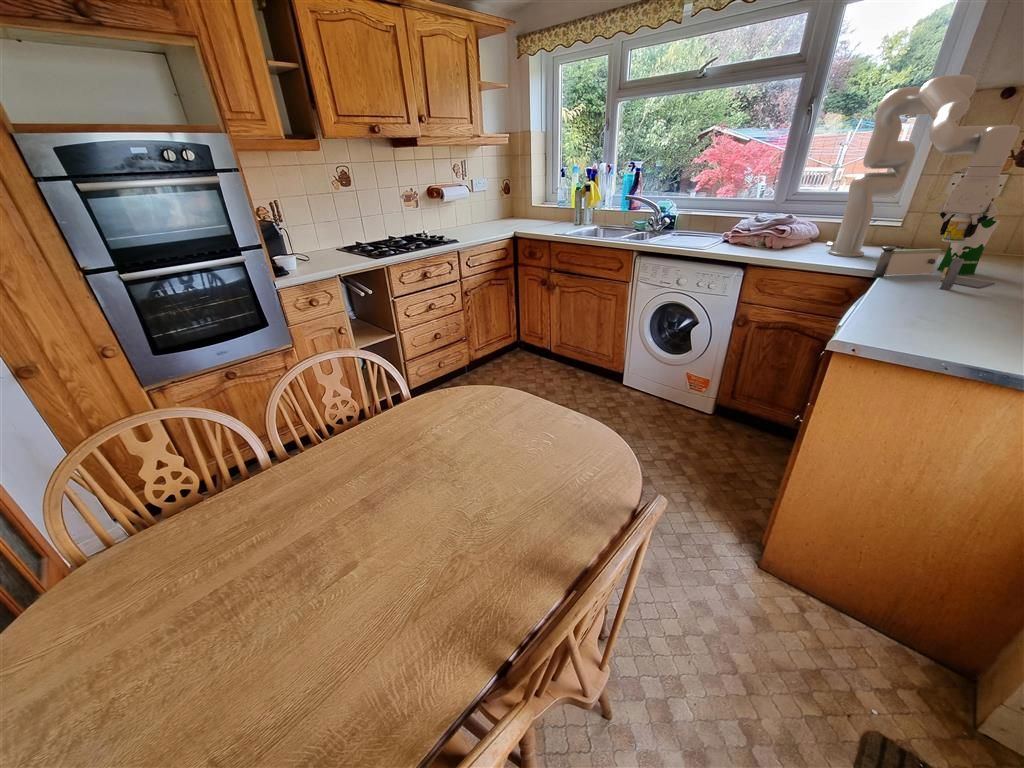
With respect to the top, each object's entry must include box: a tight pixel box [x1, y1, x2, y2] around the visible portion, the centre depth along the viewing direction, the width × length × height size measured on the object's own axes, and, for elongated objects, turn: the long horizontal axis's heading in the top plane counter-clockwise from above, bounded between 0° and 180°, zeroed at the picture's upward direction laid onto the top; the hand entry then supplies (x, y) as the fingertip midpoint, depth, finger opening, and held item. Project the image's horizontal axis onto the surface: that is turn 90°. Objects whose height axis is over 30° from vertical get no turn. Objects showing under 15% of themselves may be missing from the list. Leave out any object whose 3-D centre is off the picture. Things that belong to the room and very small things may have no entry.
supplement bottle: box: [941, 213, 972, 244], centre depth 137 cm, size 5×5×10 cm
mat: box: [940, 275, 996, 289], centre depth 143 cm, size 10×10×1 cm
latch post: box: [939, 258, 964, 291], centre depth 136 cm, size 3×3×10 cm
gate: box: [884, 248, 943, 276], centre depth 151 cm, size 16×2×8 cm, turn 89°
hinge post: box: [873, 245, 897, 278], centre depth 152 cm, size 4×4×10 cm
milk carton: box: [936, 212, 1001, 275], centre depth 151 cm, size 9×9×20 cm
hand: (955, 235), depth 138 cm, fingers closed on supplement bottle, 5 cm apart
